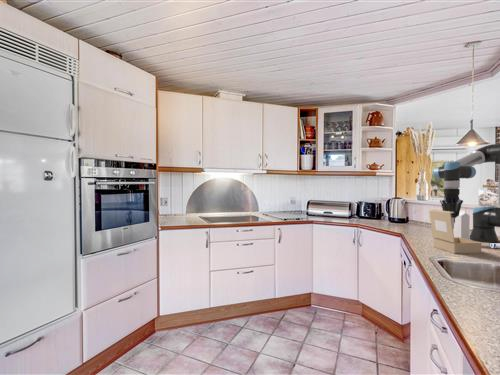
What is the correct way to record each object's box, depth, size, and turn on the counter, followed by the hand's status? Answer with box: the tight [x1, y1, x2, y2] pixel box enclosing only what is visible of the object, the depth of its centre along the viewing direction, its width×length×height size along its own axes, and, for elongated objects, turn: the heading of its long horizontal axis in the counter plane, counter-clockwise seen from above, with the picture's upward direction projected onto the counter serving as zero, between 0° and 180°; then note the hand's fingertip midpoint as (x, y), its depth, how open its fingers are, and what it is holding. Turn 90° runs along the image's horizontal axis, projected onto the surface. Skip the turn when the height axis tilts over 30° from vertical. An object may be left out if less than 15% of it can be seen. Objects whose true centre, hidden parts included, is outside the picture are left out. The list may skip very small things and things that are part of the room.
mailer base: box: [433, 237, 482, 255], centre depth 168 cm, size 16×16×6 cm
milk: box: [453, 209, 471, 240], centre depth 183 cm, size 6×6×22 cm
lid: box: [428, 209, 456, 243], centre depth 167 cm, size 17×17×3 cm
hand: (450, 228), depth 168 cm, fingers closed
